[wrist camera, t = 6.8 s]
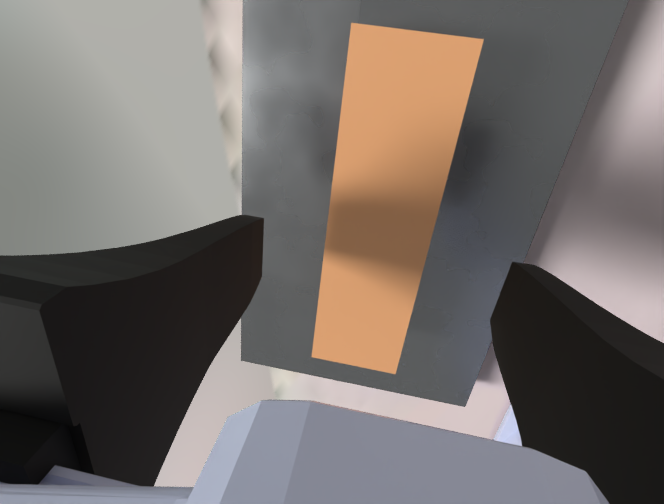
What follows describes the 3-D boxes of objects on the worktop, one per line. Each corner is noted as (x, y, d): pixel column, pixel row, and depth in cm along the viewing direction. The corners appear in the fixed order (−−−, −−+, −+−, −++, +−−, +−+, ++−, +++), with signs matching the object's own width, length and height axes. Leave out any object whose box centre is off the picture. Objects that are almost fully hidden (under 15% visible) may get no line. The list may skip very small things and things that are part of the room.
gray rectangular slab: (460, 378, 22) (465, 407, 20) (253, 336, 23) (241, 360, 21) (630, -78, 12) (669, -100, 10) (264, -113, 13) (243, -138, 12)
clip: (396, 304, 20) (395, 374, 16) (330, 291, 20) (311, 357, 16) (459, 43, 14) (483, 39, 10) (366, 31, 15) (351, 22, 10)
